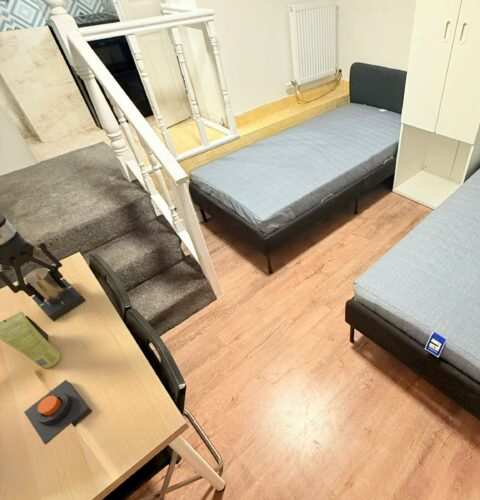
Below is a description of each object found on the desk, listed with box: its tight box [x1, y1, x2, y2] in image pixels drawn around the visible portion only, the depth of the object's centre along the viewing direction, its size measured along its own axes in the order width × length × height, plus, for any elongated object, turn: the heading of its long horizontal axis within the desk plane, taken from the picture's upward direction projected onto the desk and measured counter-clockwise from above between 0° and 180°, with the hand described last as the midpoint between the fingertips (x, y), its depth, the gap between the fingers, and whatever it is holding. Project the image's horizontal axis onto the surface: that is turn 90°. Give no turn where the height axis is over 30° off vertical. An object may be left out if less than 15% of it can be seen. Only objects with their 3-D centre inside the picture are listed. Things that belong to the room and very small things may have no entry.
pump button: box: [37, 396, 61, 416], centre depth 80 cm, size 4×4×2 cm
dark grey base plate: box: [23, 379, 93, 445], centre depth 82 cm, size 12×10×4 cm
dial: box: [24, 267, 67, 304], centre depth 102 cm, size 6×6×10 cm
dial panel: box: [31, 277, 86, 322], centre depth 107 cm, size 12×10×3 cm
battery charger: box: [25, 315, 49, 343], centre depth 93 cm, size 7×4×11 cm, turn 27°
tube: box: [0, 311, 61, 369], centre depth 87 cm, size 6×5×20 cm
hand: (52, 292), depth 105 cm, fingers closed on dial, 6 cm apart
